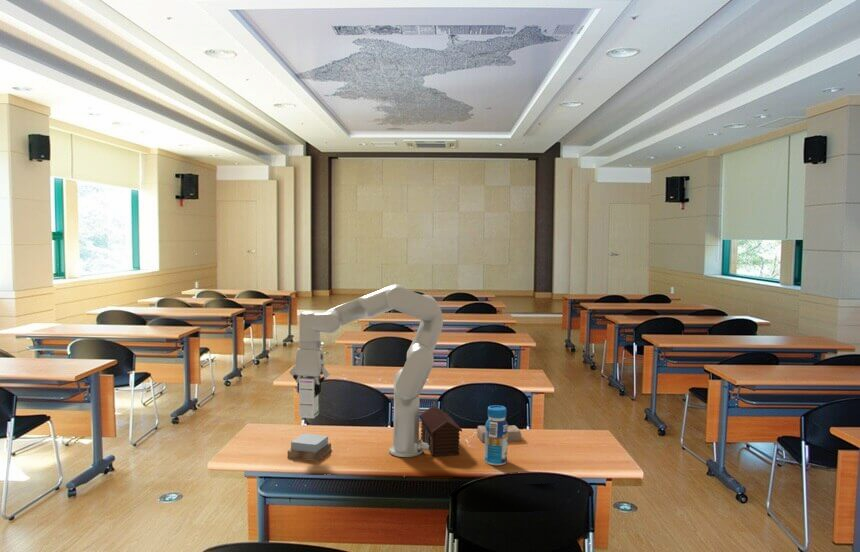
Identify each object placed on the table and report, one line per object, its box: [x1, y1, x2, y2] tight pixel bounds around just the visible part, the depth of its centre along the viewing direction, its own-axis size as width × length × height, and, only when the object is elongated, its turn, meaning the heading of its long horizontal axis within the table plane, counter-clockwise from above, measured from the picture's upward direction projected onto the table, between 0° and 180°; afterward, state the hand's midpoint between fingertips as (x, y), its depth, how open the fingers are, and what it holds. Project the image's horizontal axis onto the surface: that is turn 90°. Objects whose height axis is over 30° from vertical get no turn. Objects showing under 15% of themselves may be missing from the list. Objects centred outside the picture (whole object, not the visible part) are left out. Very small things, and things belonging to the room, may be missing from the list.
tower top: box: [290, 433, 329, 453], centre depth 227 cm, size 10×10×3 cm
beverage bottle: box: [484, 404, 509, 466], centre depth 222 cm, size 8×8×20 cm
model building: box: [419, 401, 463, 457], centre depth 236 cm, size 21×12×15 cm, turn 14°
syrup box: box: [298, 376, 320, 419], centre depth 226 cm, size 6×6×14 cm
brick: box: [476, 424, 522, 443], centre depth 248 cm, size 17×8×5 cm, turn 101°
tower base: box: [287, 442, 332, 462], centre depth 228 cm, size 12×12×3 cm
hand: (309, 393), depth 226 cm, fingers closed on syrup box, 5 cm apart
